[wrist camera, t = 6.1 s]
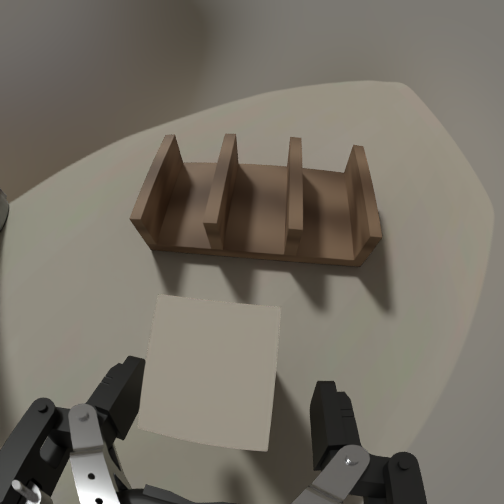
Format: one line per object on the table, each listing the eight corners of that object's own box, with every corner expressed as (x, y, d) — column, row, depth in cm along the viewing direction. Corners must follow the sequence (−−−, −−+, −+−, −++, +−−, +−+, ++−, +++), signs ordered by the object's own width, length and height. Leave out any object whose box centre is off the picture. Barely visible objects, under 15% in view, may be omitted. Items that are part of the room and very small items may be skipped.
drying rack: (360, 266, 23) (382, 237, 18) (151, 249, 24) (129, 219, 19) (350, 181, 27) (363, 146, 23) (176, 170, 28) (165, 135, 24)
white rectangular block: (261, 404, 18) (267, 451, 5) (214, 399, 18) (137, 427, 6) (266, 354, 20) (280, 306, 7) (220, 350, 20) (158, 293, 7)
